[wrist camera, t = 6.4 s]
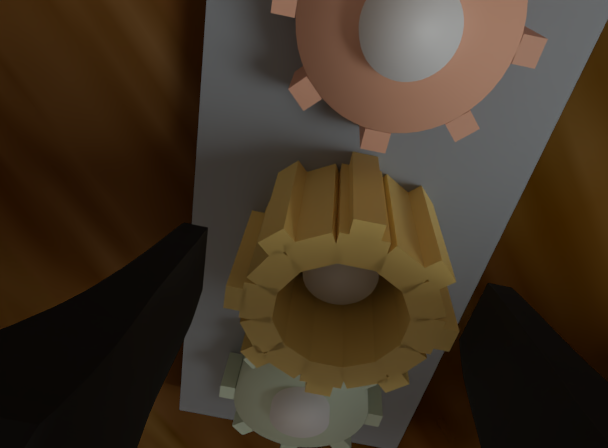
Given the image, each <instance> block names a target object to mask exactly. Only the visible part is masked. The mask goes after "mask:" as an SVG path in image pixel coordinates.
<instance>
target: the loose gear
mask: <svg viewBox="0 0 608 448" xmlns="http://www.w3.org/2000/svg"><path fill="white" fill-rule="evenodd" d="M333 264H342V265H347V266H352V267H357V268H362V269H368V270H373V271H376V272H377V273H378V274H379V278H378V283H377V285H376V287H375V289H374V290H373V292H372V293H371V294H370V295H369V296H367V297H366V298H365V299H363V300H361V301H359V302H356V303H352V304H347V305H336V304H331V303H327V302H324V301H322V300H320V299H318V298H317V297H315V296H314V295H313V294H312V293H311V292H310V291H309V290H308V289H307V287H306V286H305V283H304V281H303V271H307V270H312V269H316V268H320V267H324V266H329V265H333ZM453 283H456V279H455V276H454V272H453V269H452V266H451V262H450V259H449V256H448V252H447V249H446V246H445V242H444V239H443V236H442V232H441V229H440V226H439V222H438V219H437V216H436V212H435V209H434V206H433V203H432V202H431V200H430V198H429V197H428V195H427V194H426V192H425V190H424V189H423V187H422V186H419V187H417V188H416V189H414V190H412V191H410V192H407V191H406V190H405V189H404V188H403V187H401V186H400V185H399V184H398V183H397V182H396V181H394V180H393V179H392V178H391V177H390V176H389V175H388V174H386V175H385V176H384V177H382V171H380V168H379V160H378V157H377V156H372V155H367V154H362V153H357V152H352V156H351V160H350V164H349V165H348V164H343V163H342V164H341V168H340V172H339V171H338V168H337V165H336V164H332V165H329V166H326V167H322V168H319V169H315V170H312V171H308V172H307V171H306V170H305V168H304V167H303V166H302V164H301V163H300V162H299V160H298V161H297V162H295V163H293V164H292V165H290V166H289V167H287V168H285V169H284V170H282V171H280V172H279V173H278V175H277V179H276V182H275V185H274V189H273V192H272V196H271V199H270V202H269V203H268V206H267V207H266V210H265V213H263V212H258V211H253V210H252V212H251V215H250V218H249V221H248V223H247V226H246V229H245V232H244V235H243V238H242V241H241V244H240V247H239V249H238V252H237V255H236V258H235V261H234V264H233V267H232V270H231V272H230V275H229V278H228V281H227V284H226V289H225V297H224V305H223V308H226V309H232V310H237V311H239V318H241V319H240V324H241V326H242V328H243V329H244V331H245V336H244V339H243V343H242V347H241V351H240V352H241V353H242V354H243V355H244V356H245V357H246V358H247V359H248V360H249V361H250V362H251V363H252V364H253V365H254V366H255V367H256V368H258V367H261V366H263V365H265V364H268V363H270V364H272V365H273V366H275V367H276V368H278V369H280V370H281V371H283V372H284V373H286V374H287V375H289V376H291V377H292V378H296V377H297V376H298V375H300V381H303V382H305V392H307V393H312V394H318V395H323V396H328V397H330V395H331V392H332V389H333V387H334V388H340V389H341V387H342V384H343V381H344V383H345V386H346V388H347V389H349V388H355V387H361V386H367V385H373V384H379V386H380V387H381V388H382V389H383V390H384V391H385V393H387V392H389V391H392V390H395V389H398V388H400V387H403V386H406V385H409V376H408V370H410V369H412V368H413V367H415V366H416V365H418V364H419V363H421V362H422V361H424V360H425V359H427V356H426V354H430V355H431V353H432V351H433V349H438V350H443V351H448V352H449V351H450V349H451V347H452V345H453V343H454V341H455V339H456V337H457V335H458V333H459V328H458V324H457V320H456V317H455V313H454V309H453V306H452V302H451V298H450V295H449V291H448V287H447V286H449V285H451V284H453Z"/></svg>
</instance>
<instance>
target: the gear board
mask: <svg viewBox="0 0 608 448" xmlns="http://www.w3.org/2000/svg"><path fill="white" fill-rule="evenodd" d="M607 19H608V0H207V1H206V16H205V31H204V46H203V61H202V76H201V91H200V106H199V121H198V137H197V152H196V167H195V182H194V197H193V212H192V224H194V225H199V226H204V227H208V235H207V246H206V257H205V268H204V280H203V290H202V293H201V296H200V299H199V302H198V305H197V308H196V311H195V314H194V317H193V320H192V323H191V325H190V328H189V330H188V332H187V334H186V336H185V338H184V348H183V363H182V378H181V393H180V408H179V410H183V411H188V412H193V413H199V414H204V415H209V416H215V417H220V418H225V419H231V420H233V424H232V426H233V427H234V428H235V429H236V430H237V431H238V432H240V433H241V434H242V435H244V434H247V433H249V432H252V431H255V432H256V433H258V434H259V435H261V436H263V437H265V438H267V439H269V440H272V441H274V442H277V443H281V444H280V448H297V447H322V446H327V445H330V446H331V447H332V448H351V442H353V443H359V444H364V445H369V446H375V447H380V448H397V447H398V445H399V443H400V441H401V439H402V437H403V435H404V433H405V430H406V428H407V426H408V424H409V422H410V420H411V418H412V416H413V414H414V412H415V410H416V408H417V406H418V404H419V402H420V400H421V398H422V396H423V394H424V392H425V390H426V388H427V386H428V384H429V382H430V380H431V378H432V376H433V373H434V371H435V369H436V367H437V365H438V363H439V361H440V359H441V357H442V355H443V353H444V351H443V350H438V349H433V351H432V353H431V355H430V354H426V356H427V359H425V360H424V361H422V362H421V363H419V364H418V365H416V366H415V367H413V368H412V369H410V370H408V376H409V385H406V386H403V387H400V388H398V389H395V390H392V391H389V392H387V393H385V391H384V390H383V389H382V388H381V387H380V386H379V384H373V385H367V386H361V387H355V388H349V389H347V388H346V386H345V383H344V381H343V384H342V387H341V389H340V388H334V387H333V389H332V392H331V395H330V397H328V396H323V395H318V394H312V393H307V392H305V382H303V381H300V375H298V376H297V377H296V378H292V377H291V376H289V375H287V374H286V373H284V372H283V371H281V370H280V369H278V368H276V367H275V366H273V365H272V364H270V363H268V364H265V365H263V366H261V367H258V368H256V367H255V366H254V365H253V364H252V363H251V362H250V361H249V360H248V359H247V358H246V357H245V356H244V355H243V354H242V353H241V352H240V351H241V347H242V343H243V339H244V336H245V331H244V329H243V328H242V326H241V324H240V319H241V318H239V311H237V310H232V309H226V308H223V305H224V297H225V289H226V284H227V281H228V278H229V275H230V272H231V270H232V267H233V264H234V261H235V258H236V255H237V252H238V249H239V247H240V244H241V241H242V238H243V235H244V232H245V229H246V226H247V223H248V221H249V218H250V215H251V212H252V210H253V211H258V212H263V213H265V210H266V207H267V206H268V203H269V202H270V199H271V196H272V192H273V189H274V185H275V182H276V179H277V175H278V173H279V172H280V171H282V170H284V169H285V168H287V167H289V166H290V165H292V164H293V163H295V162H297V161H298V160H299V162H300V163H301V164H302V166H303V167H304V168H305V170H306V171H307V172H308V171H312V170H315V169H319V168H322V167H326V166H329V165H332V164H336V165H337V168H338V171H339V172H340V168H341V164H342V163H343V164H348V165H349V164H350V160H351V156H352V152H357V153H362V154H367V155H372V156H377V157H378V160H379V168H380V171H382V177H384V176H385V175H386V174H388V175H389V176H390V177H391V178H392V179H393V180H394V181H396V182H397V183H398V184H399V185H400V186H401V187H403V188H404V189H405V190H406V191H407V192H410V191H412V190H414V189H416V188H417V187H419V186H422V187H423V189H424V190H425V192H426V194H427V195H428V197H429V198H430V200H431V202H432V203H433V206H434V209H435V212H436V216H437V219H438V222H439V226H440V229H441V232H442V236H443V239H444V242H445V246H446V249H447V252H448V256H449V259H450V262H451V266H452V269H453V272H454V276H455V279H456V283H453V284H451V285H449V286H447V287H448V291H449V295H450V298H451V302H452V306H453V309H454V313H455V317H456V320H457V324H458V323H459V321H460V319H461V316H462V314H463V312H464V310H465V308H466V306H467V304H468V302H469V300H470V298H471V296H472V294H473V292H474V290H475V288H476V286H477V284H478V282H479V280H480V278H481V276H482V274H483V272H484V270H485V268H486V266H487V264H488V262H489V259H490V257H491V255H492V253H493V251H494V249H495V247H496V245H497V243H498V241H499V239H500V237H501V235H502V233H503V231H504V229H505V227H506V225H507V223H508V221H509V219H510V217H511V215H512V213H513V211H514V209H515V207H516V205H517V202H518V200H519V198H520V196H521V194H522V192H523V190H524V188H525V186H526V184H527V182H528V180H529V178H530V176H531V174H532V172H533V170H534V168H535V166H536V164H537V162H538V160H539V158H540V156H541V154H542V152H543V150H544V148H545V145H546V143H547V141H548V139H549V137H550V135H551V133H552V131H553V129H554V127H555V125H556V123H557V121H558V119H559V117H560V115H561V113H562V111H563V109H564V107H565V105H566V103H567V101H568V99H569V97H570V95H571V93H572V90H573V88H574V86H575V84H576V82H577V80H578V78H579V76H580V74H581V72H582V70H583V68H584V66H585V64H586V62H587V60H588V58H589V56H590V54H591V52H592V50H593V48H594V46H595V44H596V42H597V40H598V38H599V36H600V33H601V31H602V29H603V27H604V25H605V23H606V21H607ZM378 278H379V274H378V273H377V272H376V271H373V270H368V269H362V268H357V267H352V266H347V265H342V264H333V265H329V266H324V267H320V268H316V269H312V270H307V271H303V281H304V283H305V286H306V287H307V289H308V290H309V291H310V292H311V293H312V294H313V295H314V296H315V297H317V298H318V299H320V300H322V301H324V302H327V303H331V304H336V305H347V304H352V303H356V302H359V301H361V300H363V299H365V298H366V297H367V296H369V295H370V294H371V293H372V292H373V290H374V289H375V287H376V285H377V283H378Z"/></svg>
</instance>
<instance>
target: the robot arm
mask: <svg viewBox="0 0 608 448" xmlns="http://www.w3.org/2000/svg"><path fill="white" fill-rule="evenodd" d="M207 235H208V227H204V226H199V225H194V224H189V223H183V224H181V225H180V226H178V227H177V228H176V229H174V230H173V231H172V232H171V233H169V234H168V235H167V236H165V237H164V238H163V239H162V240H160V241H159V242H158V243H156V244H155V245H154V246H152V247H151V248H150V249H148V250H147V251H146V252H144V253H143V254H142V255H140V256H139V257H137V258H136V259H135V260H133V261H132V262H130V263H129V264H128V265H126V266H125V267H123V268H122V269H120V270H118V271H117V272H115V273H114V274H112V275H111V276H109V277H107V278H106V279H104V280H103V281H101V282H100V283H98V284H96V285H95V286H93V287H91V288H89V289H88V290H86V291H84V292H82V293H81V294H79V295H77V296H75V297H73V298H71V299H69V300H67V301H65V302H63V303H61V304H59V305H57V306H55V307H53V308H51V309H48V310H46V311H44V312H41V313H39V314H37V315H34V316H32V317H30V318H27V319H25V320H23V321H21V322H18V323H16V324H14V325H11V326H8V327H6V328H3V329H1V330H0V448H137V446H138V444H139V441H140V438H141V435H142V432H143V430H144V427H145V424H146V421H147V419H148V416H149V413H150V411H151V409H152V406H153V404H154V402H155V399H156V397H157V395H158V393H159V391H160V389H161V387H162V384H163V382H164V380H165V378H166V376H167V374H168V372H169V370H170V368H171V366H172V364H173V361H174V359H175V357H176V355H177V353H178V351H179V349H180V347H181V345H182V343H183V340H184V338H185V336H186V334H187V332H188V330H189V328H190V325H191V323H192V320H193V317H194V314H195V311H196V308H197V305H198V302H199V299H200V296H201V293H202V290H203V280H204V268H205V257H206V246H207ZM459 342H460V353H461V363H462V371H463V378H464V382H465V386H466V390H467V394H468V398H469V402H470V406H471V410H472V414H473V418H474V421H475V425H476V429H477V433H478V437H479V441H480V445H481V448H608V382H607V381H606V380H605V379H604V378H603V377H602V376H600V375H599V374H598V373H597V372H596V371H595V370H594V369H593V368H592V367H591V366H590V365H589V364H588V363H587V362H586V361H584V360H583V359H582V358H581V357H580V356H579V355H578V354H577V353H576V352H575V351H574V350H573V349H572V348H571V347H570V346H569V345H568V344H567V343H566V342H565V341H564V340H563V339H562V338H561V337H560V336H559V335H558V334H557V333H556V332H555V331H554V330H553V329H552V327H551V326H550V325H549V324H548V323H547V322H546V321H545V320H544V319H543V318H542V317H541V316H540V315H539V314H538V313H537V312H536V311H535V310H534V309H533V308H532V307H531V306H530V305H529V304H528V303H527V302H526V301H525V300H524V299H523V298H522V297H521V296H520V295H519V294H518V293H517V292H516V291H515V290H513V289H512V288H511V287H506V286H501V285H496V284H491V283H488V284H487V286H486V288H485V290H484V292H483V294H482V296H481V298H480V300H479V302H478V303H477V305H476V307H475V309H474V311H473V313H472V315H471V317H470V319H469V321H468V323H467V325H466V327H465V329H464V331H463V333H462V335H461V337H460V339H459Z"/></svg>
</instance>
